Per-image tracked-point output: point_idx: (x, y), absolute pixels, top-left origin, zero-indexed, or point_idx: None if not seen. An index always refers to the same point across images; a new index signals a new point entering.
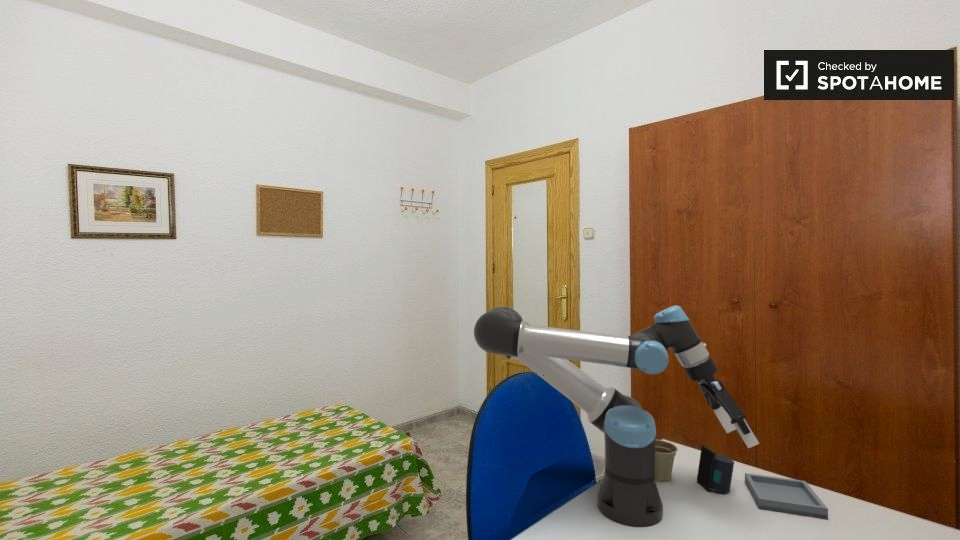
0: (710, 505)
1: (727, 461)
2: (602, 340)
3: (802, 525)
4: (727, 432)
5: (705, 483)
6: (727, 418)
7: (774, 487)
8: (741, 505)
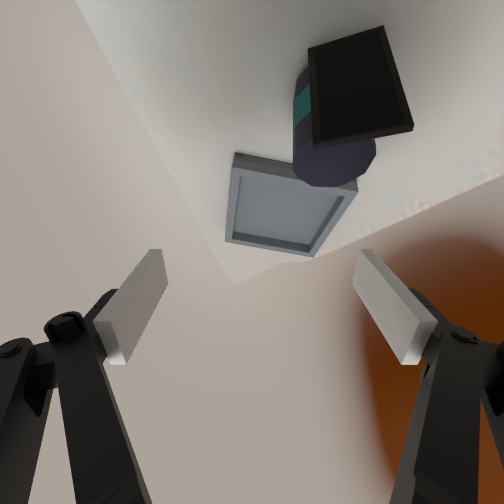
0: (221, 17)
1: (306, 169)
2: None
3: (196, 193)
4: (360, 252)
5: (334, 53)
6: (374, 308)
7: (311, 213)
8: (243, 120)
